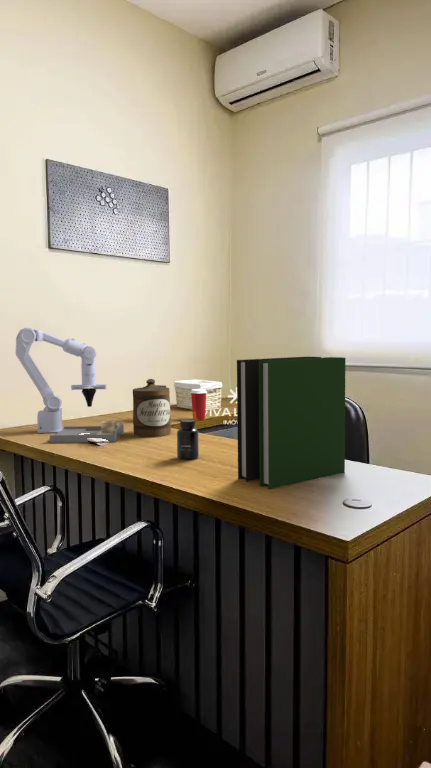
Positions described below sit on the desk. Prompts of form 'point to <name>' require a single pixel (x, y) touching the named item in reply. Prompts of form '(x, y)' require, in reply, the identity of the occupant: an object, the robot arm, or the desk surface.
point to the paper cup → (198, 404)
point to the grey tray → (72, 434)
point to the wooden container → (151, 410)
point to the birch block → (108, 426)
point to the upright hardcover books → (290, 419)
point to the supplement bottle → (187, 440)
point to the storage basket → (186, 386)
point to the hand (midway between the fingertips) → (89, 406)
